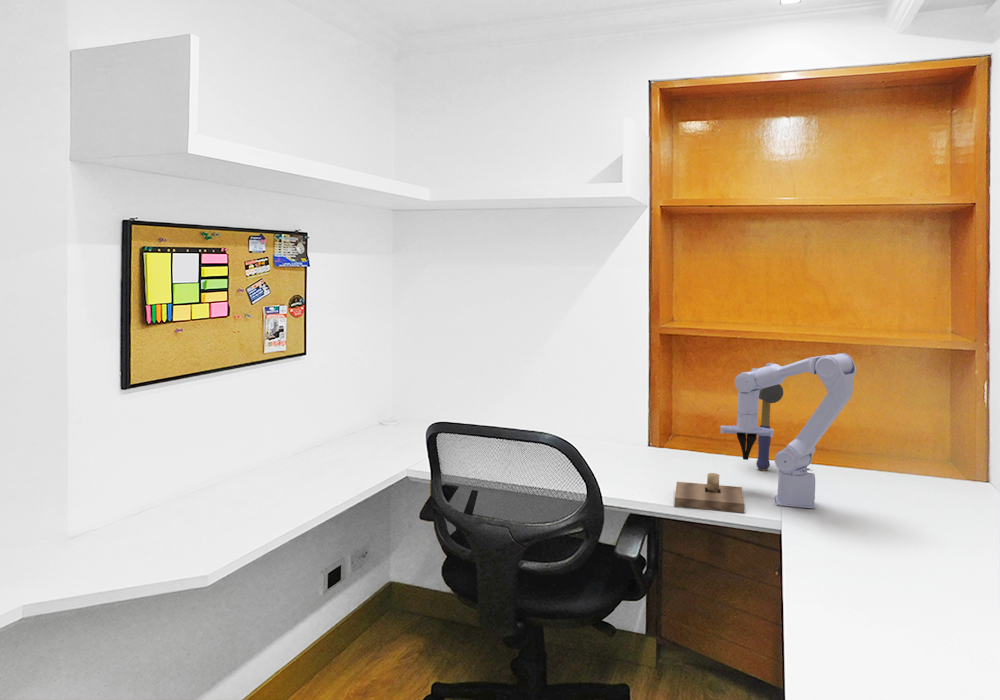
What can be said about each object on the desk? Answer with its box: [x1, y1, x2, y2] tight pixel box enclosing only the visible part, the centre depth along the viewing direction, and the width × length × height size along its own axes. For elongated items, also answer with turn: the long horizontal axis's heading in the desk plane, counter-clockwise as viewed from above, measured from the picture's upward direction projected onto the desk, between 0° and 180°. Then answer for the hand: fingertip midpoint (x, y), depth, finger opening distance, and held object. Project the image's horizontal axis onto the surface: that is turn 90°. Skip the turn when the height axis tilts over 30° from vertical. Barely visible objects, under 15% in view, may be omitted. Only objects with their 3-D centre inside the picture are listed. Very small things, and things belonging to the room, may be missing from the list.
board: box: [674, 481, 745, 514], centre depth 200 cm, size 18×15×2 cm
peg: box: [706, 472, 720, 493], centre depth 202 cm, size 3×3×7 cm
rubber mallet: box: [756, 384, 784, 471], centre depth 230 cm, size 12×8×30 cm, turn 176°
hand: (745, 458), depth 209 cm, fingers closed
